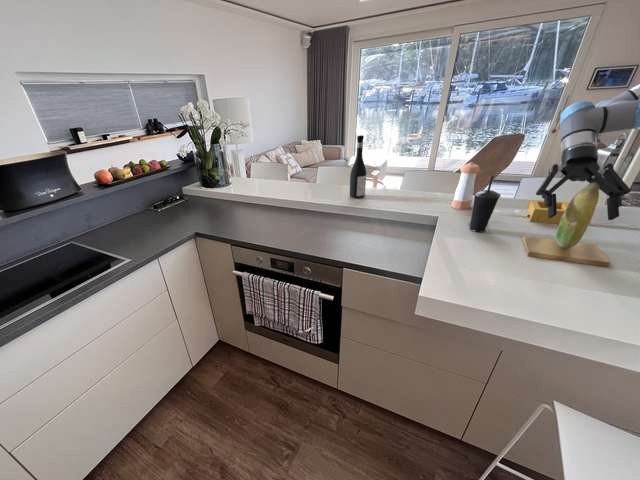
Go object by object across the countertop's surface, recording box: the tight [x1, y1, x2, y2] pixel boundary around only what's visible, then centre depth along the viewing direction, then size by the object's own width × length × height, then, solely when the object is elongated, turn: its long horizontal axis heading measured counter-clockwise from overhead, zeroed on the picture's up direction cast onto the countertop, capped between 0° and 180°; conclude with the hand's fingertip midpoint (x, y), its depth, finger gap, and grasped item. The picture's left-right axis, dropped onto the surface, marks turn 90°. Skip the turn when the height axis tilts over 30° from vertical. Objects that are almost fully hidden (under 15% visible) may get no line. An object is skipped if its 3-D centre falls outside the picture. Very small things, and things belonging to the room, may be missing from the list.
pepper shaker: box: [451, 161, 481, 210], centre depth 123 cm, size 7×7×19 cm
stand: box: [526, 199, 570, 225], centre depth 110 cm, size 12×12×5 cm
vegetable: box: [555, 183, 600, 248], centre depth 83 cm, size 6×6×20 cm
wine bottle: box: [349, 135, 367, 199], centre depth 145 cm, size 8×8×30 cm
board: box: [522, 236, 611, 268], centre depth 89 cm, size 18×12×2 cm, turn 60°
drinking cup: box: [469, 175, 501, 232], centre depth 102 cm, size 8×8×20 cm
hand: (582, 217), depth 81 cm, fingers open, 13 cm apart
